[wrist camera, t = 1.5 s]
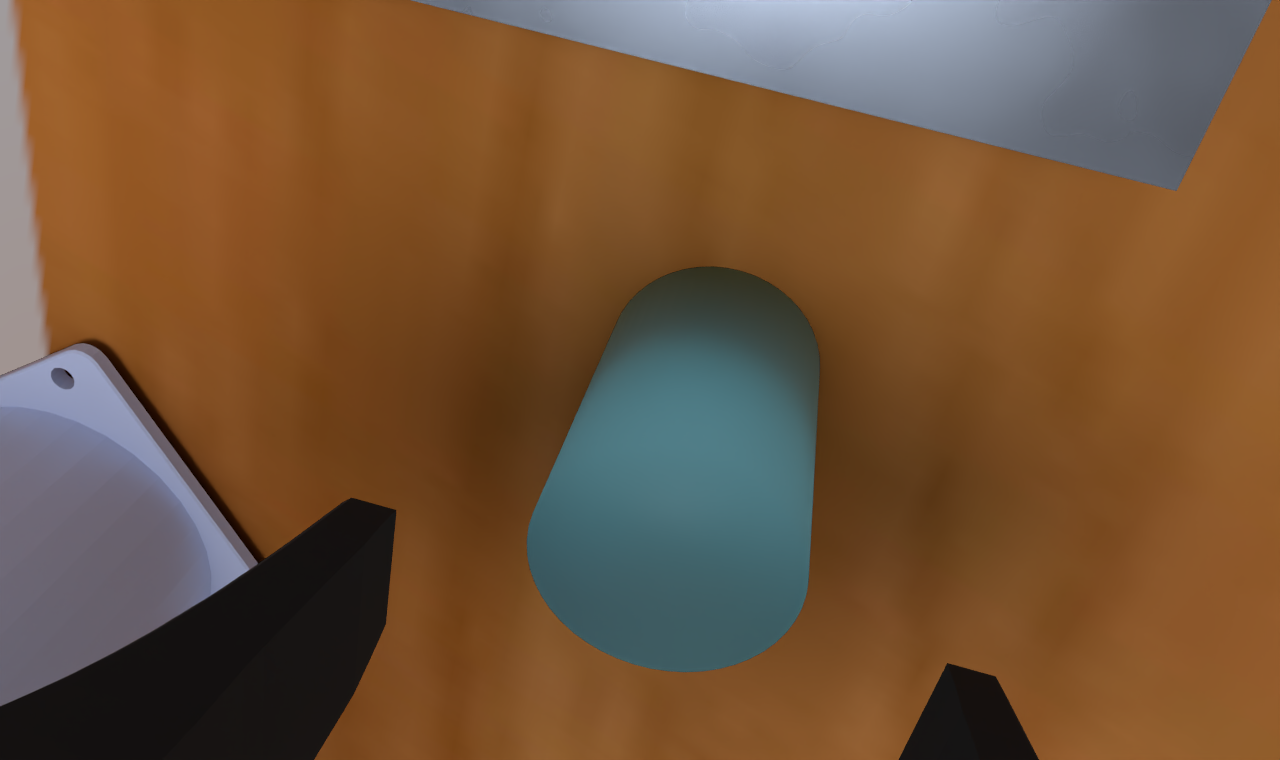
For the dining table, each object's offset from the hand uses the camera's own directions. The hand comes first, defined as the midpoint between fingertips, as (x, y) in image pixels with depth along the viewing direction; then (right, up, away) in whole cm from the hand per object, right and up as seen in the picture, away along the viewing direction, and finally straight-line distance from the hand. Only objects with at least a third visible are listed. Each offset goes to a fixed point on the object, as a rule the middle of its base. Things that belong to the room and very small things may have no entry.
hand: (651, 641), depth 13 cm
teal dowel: (+1, +4, +6) cm, 8 cm away
